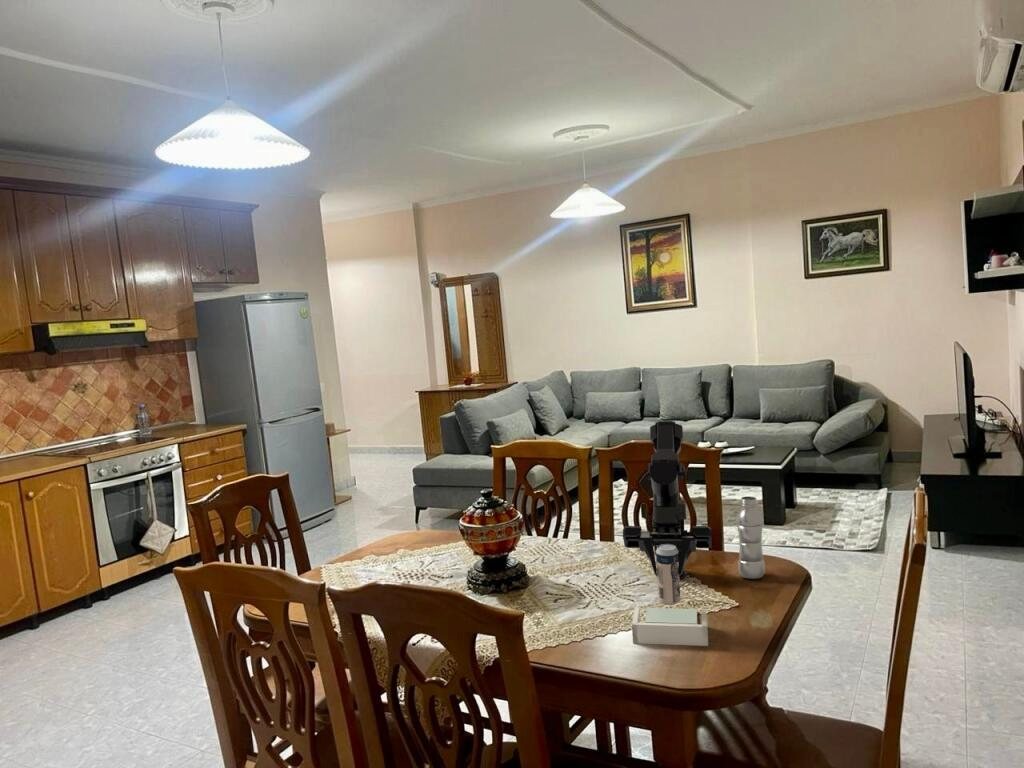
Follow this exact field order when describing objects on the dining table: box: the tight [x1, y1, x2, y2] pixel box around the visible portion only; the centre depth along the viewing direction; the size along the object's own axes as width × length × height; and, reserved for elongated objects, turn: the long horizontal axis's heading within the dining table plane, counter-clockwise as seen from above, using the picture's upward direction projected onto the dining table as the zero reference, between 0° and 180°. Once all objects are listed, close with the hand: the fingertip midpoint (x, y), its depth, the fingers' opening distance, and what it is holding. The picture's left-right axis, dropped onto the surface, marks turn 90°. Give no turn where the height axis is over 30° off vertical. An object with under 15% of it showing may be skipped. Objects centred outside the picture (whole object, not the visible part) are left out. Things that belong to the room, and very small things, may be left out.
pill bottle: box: [655, 544, 682, 606], centre depth 156 cm, size 5×5×12 cm
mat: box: [644, 607, 698, 624], centre depth 162 cm, size 8×11×1 cm
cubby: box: [631, 606, 709, 647], centre depth 153 cm, size 9×15×4 cm, turn 77°
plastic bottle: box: [735, 495, 766, 580], centre depth 181 cm, size 6×7×20 cm
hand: (667, 574), depth 155 cm, fingers closed on pill bottle, 5 cm apart
